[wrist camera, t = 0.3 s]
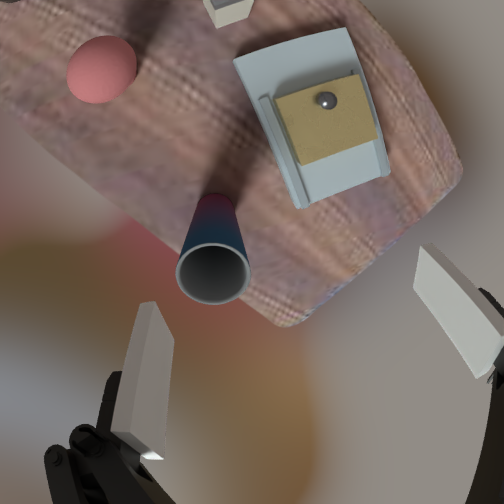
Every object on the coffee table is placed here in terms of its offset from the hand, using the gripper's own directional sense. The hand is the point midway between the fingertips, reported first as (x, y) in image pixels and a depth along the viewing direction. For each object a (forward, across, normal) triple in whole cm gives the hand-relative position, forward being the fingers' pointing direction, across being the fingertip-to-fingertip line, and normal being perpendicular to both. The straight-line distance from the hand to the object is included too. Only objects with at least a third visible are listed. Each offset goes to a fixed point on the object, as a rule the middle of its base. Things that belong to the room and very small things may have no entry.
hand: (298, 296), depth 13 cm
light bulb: (+27, -12, +15) cm, 33 cm away
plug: (+26, +1, +20) cm, 33 cm away
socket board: (+26, +9, +5) cm, 28 cm away
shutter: (+23, +9, +5) cm, 25 cm away
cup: (+27, -6, -6) cm, 28 cm away
